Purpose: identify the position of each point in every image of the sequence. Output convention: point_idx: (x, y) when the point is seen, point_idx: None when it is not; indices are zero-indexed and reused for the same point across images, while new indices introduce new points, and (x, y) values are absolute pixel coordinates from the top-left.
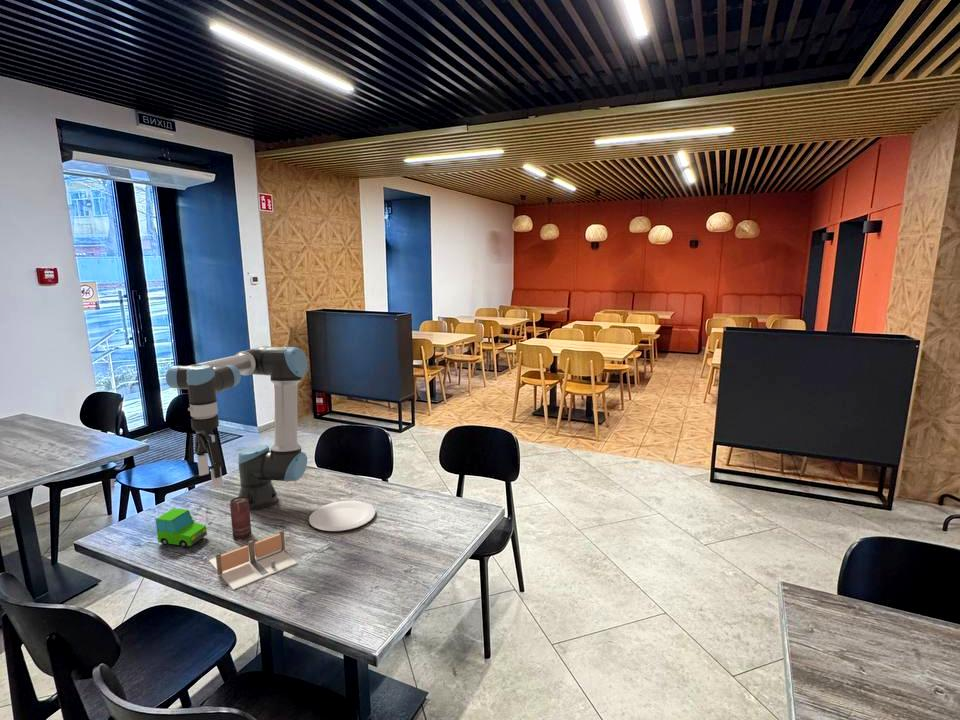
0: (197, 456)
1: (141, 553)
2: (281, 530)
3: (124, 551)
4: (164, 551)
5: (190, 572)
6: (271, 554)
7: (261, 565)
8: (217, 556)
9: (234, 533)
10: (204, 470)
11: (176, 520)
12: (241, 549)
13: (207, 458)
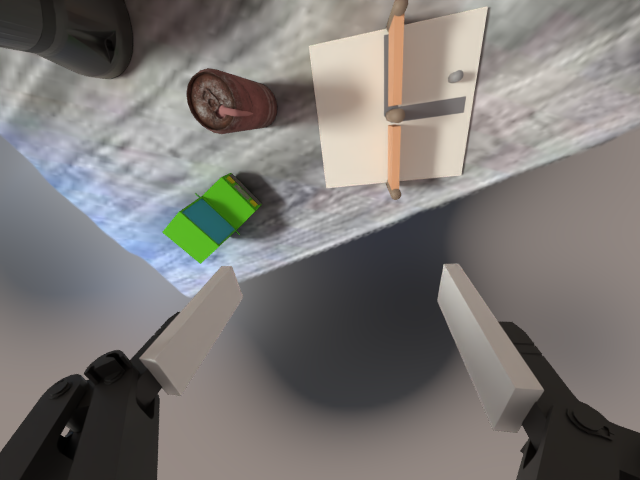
0: (169, 392)
1: (242, 258)
2: (395, 2)
3: None
4: (252, 235)
5: (344, 218)
6: None
7: (422, 102)
8: (399, 196)
9: (264, 126)
10: (227, 296)
11: (212, 234)
12: (399, 143)
13: (176, 334)
